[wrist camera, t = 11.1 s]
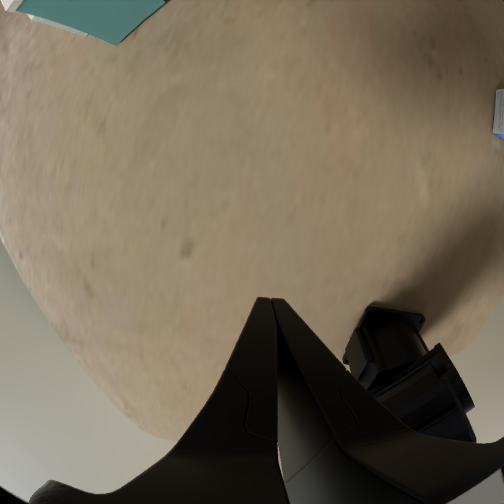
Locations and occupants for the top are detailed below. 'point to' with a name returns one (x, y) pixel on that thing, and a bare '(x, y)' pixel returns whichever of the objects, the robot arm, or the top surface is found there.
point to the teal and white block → (90, 14)
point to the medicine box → (499, 114)
